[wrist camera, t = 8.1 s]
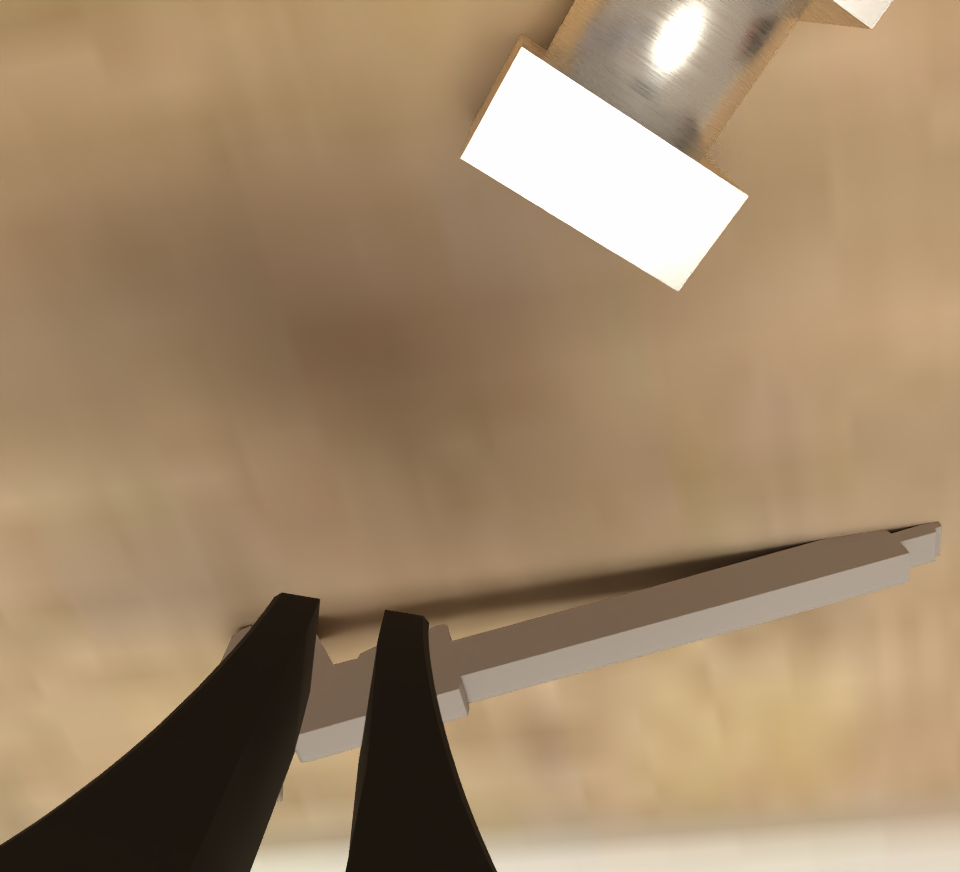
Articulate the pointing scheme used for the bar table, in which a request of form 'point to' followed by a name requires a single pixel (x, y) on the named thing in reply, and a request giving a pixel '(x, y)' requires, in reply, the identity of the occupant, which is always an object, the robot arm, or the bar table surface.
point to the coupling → (638, 117)
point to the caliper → (615, 629)
